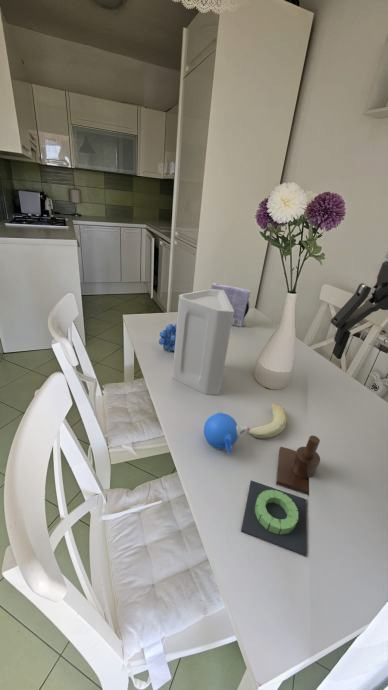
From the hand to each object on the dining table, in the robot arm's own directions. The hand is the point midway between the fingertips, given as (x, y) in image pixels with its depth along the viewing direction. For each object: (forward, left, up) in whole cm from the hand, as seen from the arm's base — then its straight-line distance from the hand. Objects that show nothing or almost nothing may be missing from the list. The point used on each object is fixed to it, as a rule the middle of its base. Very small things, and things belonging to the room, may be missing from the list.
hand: (365, 358), depth 69 cm
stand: (+7, +13, -27) cm, 30 cm away
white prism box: (+43, -14, -27) cm, 52 cm away
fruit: (+16, -1, -27) cm, 31 cm away
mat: (+12, +26, -27) cm, 39 cm away
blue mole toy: (+26, +11, -27) cm, 39 cm away
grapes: (+56, -28, -27) cm, 68 cm away
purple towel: (+44, -66, -27) cm, 84 cm away
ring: (+12, +26, -26) cm, 39 cm away
